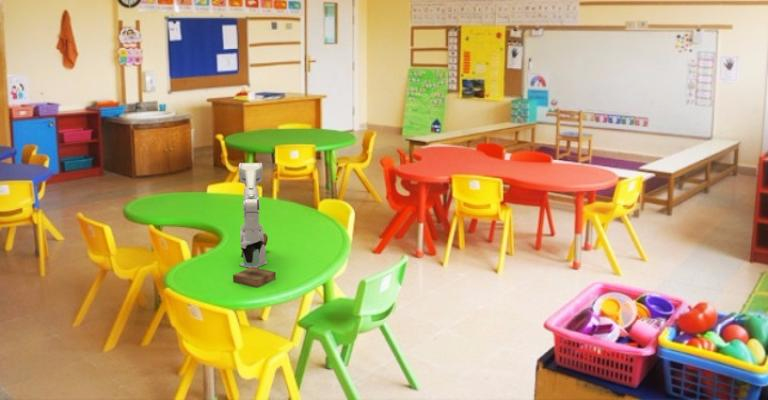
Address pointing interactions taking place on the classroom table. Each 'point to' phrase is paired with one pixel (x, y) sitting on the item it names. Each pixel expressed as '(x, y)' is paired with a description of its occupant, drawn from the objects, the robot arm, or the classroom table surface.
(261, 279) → the walnut base
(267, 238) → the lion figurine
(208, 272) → the classroom table surface
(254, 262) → the teal block
